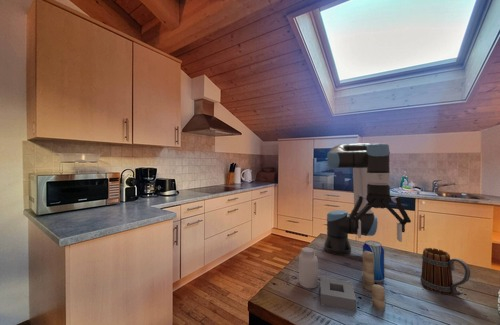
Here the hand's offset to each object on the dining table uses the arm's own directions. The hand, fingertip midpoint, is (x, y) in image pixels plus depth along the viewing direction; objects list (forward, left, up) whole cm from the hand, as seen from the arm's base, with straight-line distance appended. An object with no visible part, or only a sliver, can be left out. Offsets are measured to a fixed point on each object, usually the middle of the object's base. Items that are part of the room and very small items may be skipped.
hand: (378, 238), depth 81 cm
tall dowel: (-6, -3, -23) cm, 24 cm away
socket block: (+4, -16, -23) cm, 28 cm away
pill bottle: (-3, -27, -23) cm, 36 cm away
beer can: (-16, +1, -23) cm, 28 cm away
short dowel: (+5, -2, -23) cm, 24 cm away
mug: (-14, +26, -23) cm, 38 cm away
